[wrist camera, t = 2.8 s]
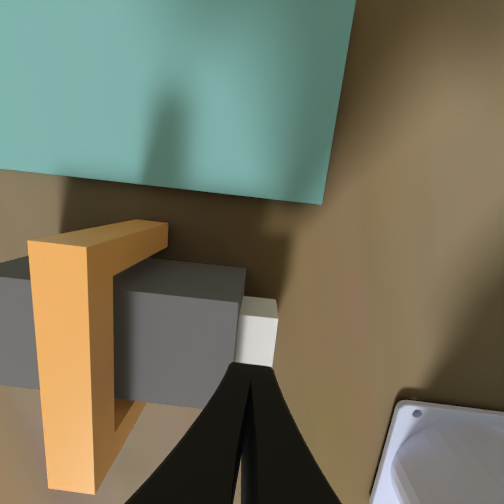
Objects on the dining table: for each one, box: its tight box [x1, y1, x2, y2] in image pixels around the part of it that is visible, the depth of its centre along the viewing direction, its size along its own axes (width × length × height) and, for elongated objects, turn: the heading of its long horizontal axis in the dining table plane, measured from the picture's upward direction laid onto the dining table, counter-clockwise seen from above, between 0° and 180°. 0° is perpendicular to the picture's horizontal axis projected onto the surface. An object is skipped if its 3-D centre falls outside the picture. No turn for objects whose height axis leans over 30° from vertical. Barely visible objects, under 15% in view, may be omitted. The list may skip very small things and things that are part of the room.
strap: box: [27, 219, 168, 495], centre depth 11 cm, size 2×9×6 cm, turn 174°
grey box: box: [0, 256, 278, 409], centre depth 12 cm, size 12×5×5 cm, turn 84°
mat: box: [0, 0, 356, 205], centre depth 11 cm, size 16×8×1 cm, turn 84°
